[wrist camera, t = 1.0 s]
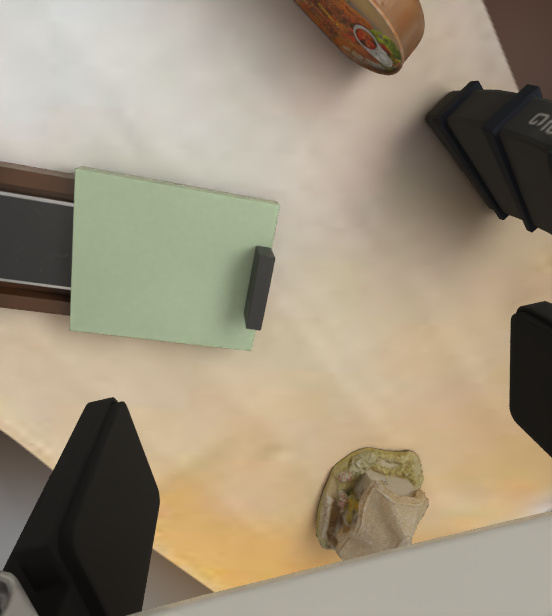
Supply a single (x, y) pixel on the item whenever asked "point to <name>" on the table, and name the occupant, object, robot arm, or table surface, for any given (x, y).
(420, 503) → the ceramic model
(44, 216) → the panel
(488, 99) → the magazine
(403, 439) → the table surface
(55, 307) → the tray
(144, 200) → the lid
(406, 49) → the tin
